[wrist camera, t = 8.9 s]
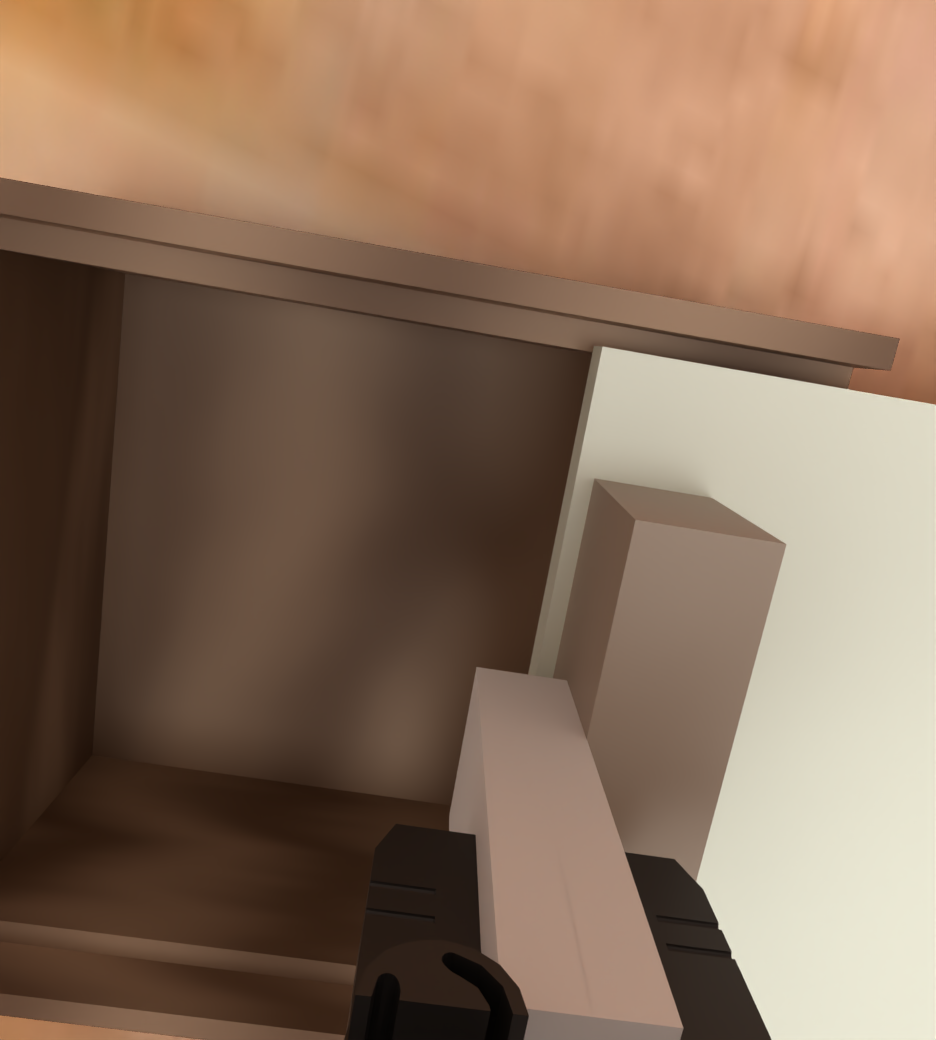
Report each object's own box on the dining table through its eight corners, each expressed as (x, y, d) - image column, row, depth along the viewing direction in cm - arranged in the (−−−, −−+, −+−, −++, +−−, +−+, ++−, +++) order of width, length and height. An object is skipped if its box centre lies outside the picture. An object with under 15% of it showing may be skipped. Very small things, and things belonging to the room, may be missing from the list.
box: (67, 767, 23) (-140, 998, 15) (100, 227, 20) (-143, 151, 12) (606, 841, 24) (683, 1097, 16) (725, 337, 20) (899, 338, 12)
